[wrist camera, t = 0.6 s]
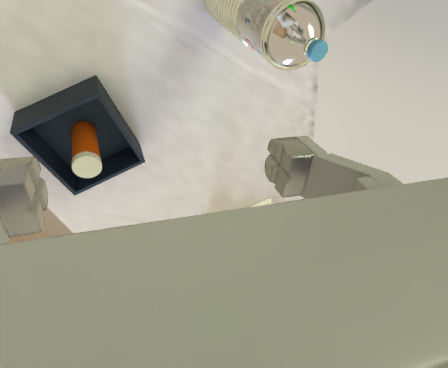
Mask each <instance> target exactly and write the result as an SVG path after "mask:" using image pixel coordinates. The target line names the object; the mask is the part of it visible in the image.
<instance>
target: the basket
mask: <svg viewBox="0 0 448 368" xmlns="http://www.w3.org/2000/svg"><path fill="white" fill-rule="evenodd" d="M79 121H87V122H90V123H92V124H93V125H94V126H95V128H96V132H97V139H98V146H99V153H100V158H101V162H102V170H101V172H100V173H99V174H98V175H97V176H95V177H92V178H82V177H79V176H77V175H76V174H75V173H74V172H73V170H72V137H71V128H72V126H73V125H74V124H75V123H76V122H79ZM10 134H12V135H13V136H14V137H15V138H16V139H17V140H18V141H19V142H20V143H21V144H22V145H23V146H24V147H25V148H26V149H27V150H28V151H29V152H30V153H31V154H32V155H33V156H34V157H36V158H37V159H38V161H40V162H41V163H42V164H43V165H44V166H45V167H46V168H47V169H48V170H49V171H50V172H51V173H52V174H53V175H54V176H55V177H56V178H57V179H58V180H59V181H60V182H61V183H62V184H63V185H64V186H65V187H66V188H67V189H69V190H70V191H71V192H72V193H73V194H74V195H77V194H79V193H81V192H83V191H85V190H87V189H89V188H92V187H94V186H96V185H98V184H100V183H102V182H104V181H106V180H108V179H110V178H112V177H115V176H117V175H119V174H121V173H123V172H125V171H127V170H129V169H131V168H133V167H135V166H138V165H140V164H142V163H144V162H145V160H144V157H143V153H142V150H141V147H140V144H139V142H138V140H137V139H136V137H135V136H134V134H133V133H132V131H131V129H130V128H129V126H128V125H127V123H126V122H125V120H124V118H123V117H122V115H121V114H120V112H119V111H118V109H117V107H116V106H115V104H114V103H113V101H112V100H111V98H110V97H109V95H108V93H107V92H106V90H105V89H104V87H103V86H102V84H101V82H100V81H99V79H98V78H97V76H94V77H91V78H89V79H87V80H85V81H83V82H80V83H78V84H76V85H74V86H72V87H69V88H67V89H65V90H63V91H61V92H58V93H56V94H54V95H52V96H49V97H47V98H45V99H43V100H41V101H38V102H36V103H34V104H32V105H30V106H27V107H25V108H23V109H21V110H19V111H16V112H15V113H14V117H13V122H12V126H11V130H10Z"/></svg>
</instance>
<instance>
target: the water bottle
mask: <svg viewBox="0 0 448 368" xmlns="http://www.w3.org/2000/svg"><path fill="white" fill-rule="evenodd" d="M203 2H204V6H205V8H206V11H207V12H208V14H209V15H210V16H211V17H212V18H213V19H214V20H215V21H216V22H218V23H219V24H220V25H222V26H223V27H224V28H225V29H227V30H228V31H229V32H230V33H232V34H233V35H234V36H236V37H237V38H238V39H239V40H241V41H242V42H243V43H245V44H246V45H248V46H250V47H251V48H253V49H254V50H255V51H257V52H258V53H259V54H261V55H262V56H263V57H264V58H265V59H266V60H267V61H268V62H269V63H270V64H271V65H272V66H274V67H275V68H277V69H280V70H284V71H290V70H295V69H298V68H301V67H303V66H305V65H306V64H308V63H309V62H311V61H314V62H318V61H320V60H322V59H323V58H324V57H325V55H326V53H327V50H328V46H327V43H326V42H324V37H325V21H324V17H323V14H322V12H321V10H320V8H319V7H318V6H317V5H316V4H315V3H313V2H312V1H310V0H203Z"/></svg>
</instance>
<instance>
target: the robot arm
mask: <svg viewBox="0 0 448 368" xmlns="http://www.w3.org/2000/svg"><path fill="white" fill-rule="evenodd" d="M268 151H269V153H270V155H269V156H268V157H267V158H266V160H265V173H266V176H267V178H268V179H269V181H271V182H273V183H275V189H276V190H277V191H278V192H279V194H280V195H281V196H282V198H283V197H291V196H300V195H302V197H304V198H305V199H302V200H295V201H288V202H282V203H275V204H268V205H261V206H255V207H248V208H241V209H235V210H228V211H221V212H215V213H208V214H201V215H195V216H188V217H181V218H175V219H168V220H161V221H155V222H148V223H141V224H135V225H128V226H121V227H115V228H108V229H101V230H94V231H88V232H81V233H74V234H69V235H61V236H54V237H48V238H41V239H34V240H28V241H21V242H15V243H8V244H5V243H6V242H7V241H8V240H9V239H10V237H16V236H21V235H28V234H33V233H39V232H42V229H43V225H44V220H45V216H44V213H43V211H44V210H46V209H47V206H48V192H47V187H46V183H45V181H44V180H43V179H42V178H40V177H39V175H40V171H41V167H40V164H39V162H38V159H37V158H36V157H23V158H6V159H0V368H448V178H443V179H435V180H429V181H422V182H415V183H409V184H403V183H401V182H400V181H398V180H397V179H396V178H395V177H393V176H392V175H391V174H389V173H387V172H384V171H381V170H378V169H376V168H373V167H370V166H367V165H364V164H361V163H358V162H355V161H352V160H349V159H346V158H343V157H340V156H337V155H334V154H328V153H327V152H325V151H324V150H323V149H322V148H321V147H319V146H318V145H317V144H316V143H314V141H312V140H311V139H310V138H309V137H308V136H298V137H287V138H277V139H271V140H270V142H269V145H268Z"/></svg>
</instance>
